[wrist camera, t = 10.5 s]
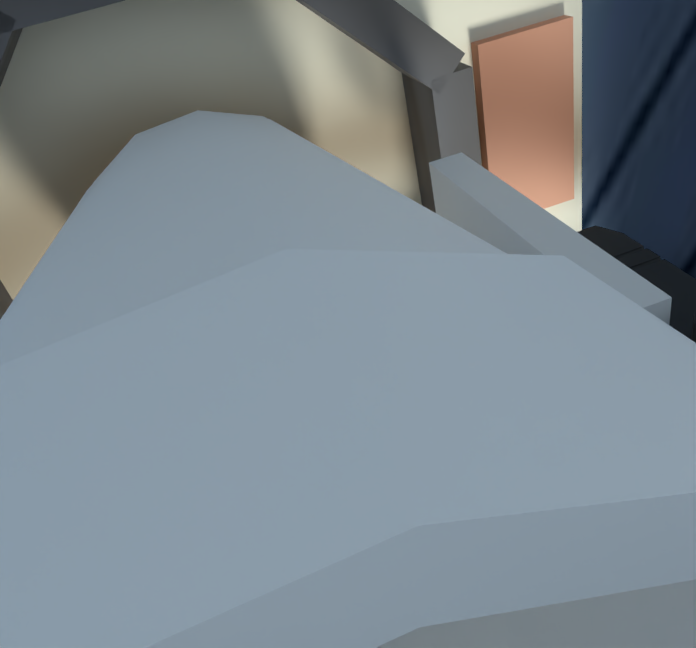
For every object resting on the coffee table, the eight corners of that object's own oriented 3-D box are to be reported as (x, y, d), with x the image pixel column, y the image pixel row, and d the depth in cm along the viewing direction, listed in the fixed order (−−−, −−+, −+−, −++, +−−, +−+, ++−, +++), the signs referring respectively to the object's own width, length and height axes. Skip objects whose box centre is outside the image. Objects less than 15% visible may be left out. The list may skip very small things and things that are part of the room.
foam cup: (234, 452, 19) (366, 1135, 8) (-89, 272, 14) (-834, 1436, 3) (475, 222, 17) (1040, 711, 6) (206, -82, 12) (765, -135, 1)
